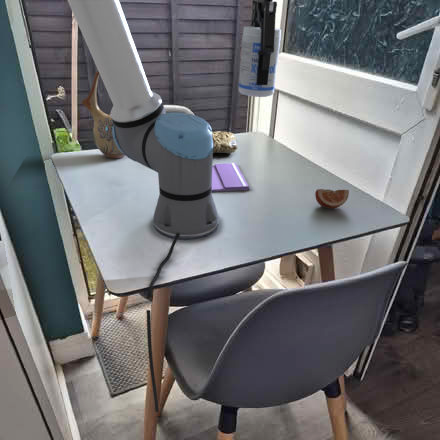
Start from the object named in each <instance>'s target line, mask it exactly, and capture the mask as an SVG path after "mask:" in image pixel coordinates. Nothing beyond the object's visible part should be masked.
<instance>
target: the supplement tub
mask: <svg viewBox="0 0 440 440" xmlns="http://www.w3.org/2000/svg"><path fill="white" fill-rule="evenodd" d="M281 38H282V29H280V28H276V27H275V38H274V52H273V53H271V55H270V65H269V74H268V84H267V85H256V83H257V71H258V60H259V55H258V51H260V42H261V29H260V27H250V26H244V27H243V32H242V39H241V51H240V52H241V53H240V64H239V76H238V77H239V78H238V92H239V93H240V94H241V95H244V96H249V97H255V98H264V97H265V98H266V97H270V96H272V95H274V93H275V87H276V79H277V71H278V62H279V55H280V48H281V41H282V40H281Z"/></svg>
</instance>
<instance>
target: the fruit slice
mask: <svg viewBox="0 0 440 440" xmlns="http://www.w3.org/2000/svg"><path fill="white" fill-rule="evenodd" d="M349 194H350V190H349V189H335V190H333V189H325V188H318V189H316V190H315V193H314V197H315V200H316V202H317V203H318V205H320V207H322V208H325V209H337V208H340V207H341V206H343V205H344V204H345V203H346V202H347V201H348V198H349Z"/></svg>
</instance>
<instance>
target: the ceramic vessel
mask: <svg viewBox="0 0 440 440" xmlns="http://www.w3.org/2000/svg"><path fill="white" fill-rule="evenodd" d="M100 77H101V76H100V73H99V71H98V70H97V71H96V72H95V74H94V77H93V82H92V85H91V88H90V92H89V93H88V95H87V97H86V98H84V99H82V100H81V101H80V103H81V104H82V105H83V106H84V107H85V108H86V109H87V110H88V111H89V113H90V114H91V116H92V118H93V119H92V120H93V128H92V136H93V141H94V144H95V146H96V147H97V149H98V150H99V152H100V153H102V155H104V156H105V157H106V158H109V159H123V158H124V157H126V155H125V154H124V153H122V152H121V151H120V150H119V148H118V147H117V145H116V143H115V141H114V138H113V134H112V127H113V124H114V123H113V121H112V118H111V115H110V114H107V113H106V112H103V110H102V109H100V107H99V105H98V98H97V91H98V90H97V89H98V82H99V78H100Z"/></svg>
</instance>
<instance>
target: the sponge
mask: <svg viewBox="0 0 440 440" xmlns="http://www.w3.org/2000/svg"><path fill="white" fill-rule="evenodd" d="M212 139H213V154H232V153H235V152H236V150H237V149H238V140H237V138H236V136H235V134H234V133H233V132H229V131H220V130H219V131H218V130H217V131H212Z"/></svg>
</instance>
